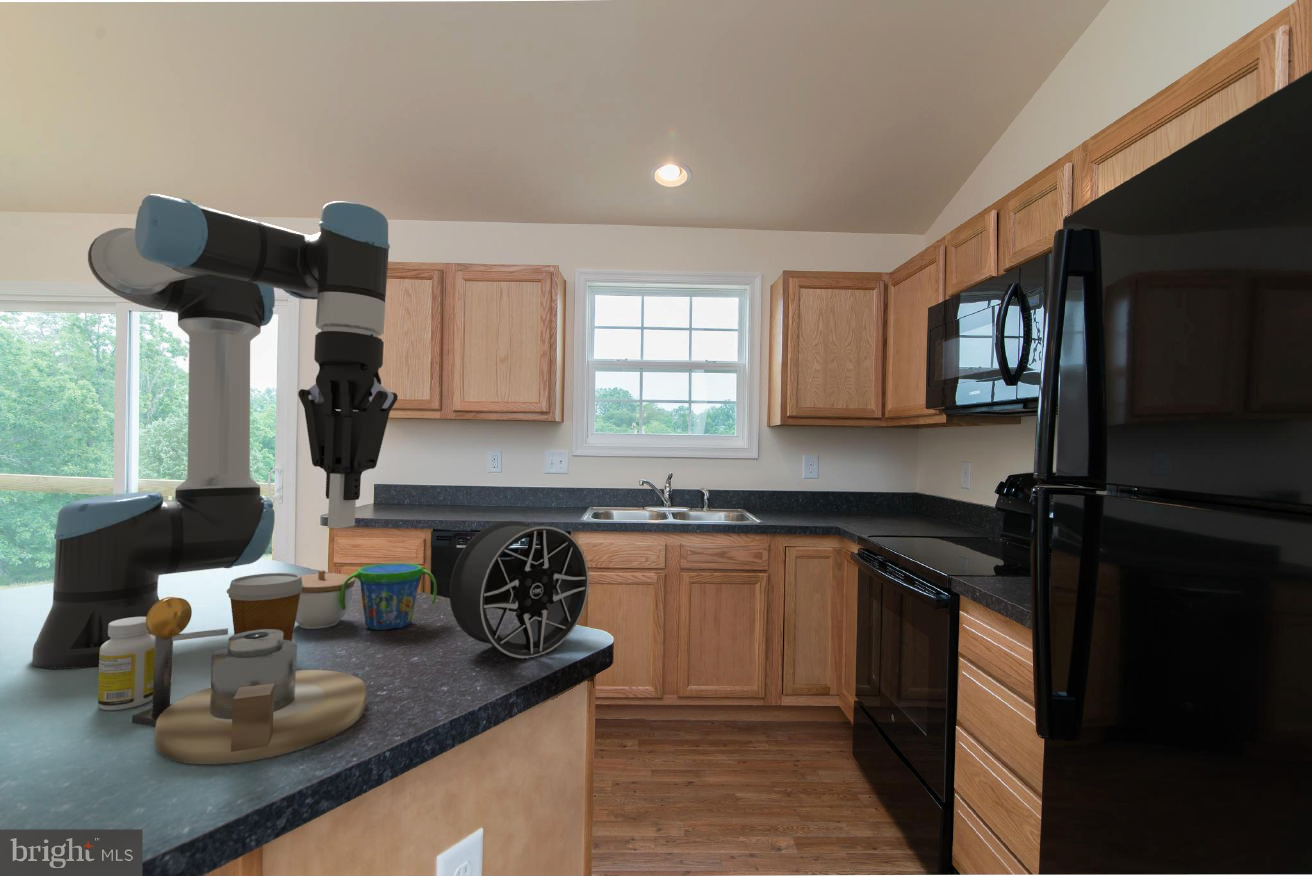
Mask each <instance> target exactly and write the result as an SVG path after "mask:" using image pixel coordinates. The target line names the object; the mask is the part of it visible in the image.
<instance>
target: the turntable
mask: <svg viewBox="0 0 1312 876" xmlns="http://www.w3.org/2000/svg"><path fill="white" fill-rule="evenodd" d="M274 685H275V684H266V685H257V686H249V687H240V688H239V689H238V691H237V693H236V695H235V696H234V698H233V711H232V719H220V718H216V717H214V716H212V715H211V714H210V696H211V686H210V687H207V688H204V689H202V690H199V691H197V692H196V691H195V692H194V693H191V694H190V695H188V696H187V695H186V696H185V697H183V698H181V699H179V700H177V701H176V702H174V703H171V704H172V705H171V706H170V707H168V708H167V709H166V710H164V711H163V712H162V713H161V714H160V716H159V717H158V719H157V721H156V727H155V736H154V746H155V749H156V751H157V752H158V753H159V754H160V755H161V756H163V757H164V758H167V759H169V760H171V761H176V762H180V763H187V764H194V765H197V764H198V765H221V764H222V765H224V764H225V765H226V764H234V763H235V764H236V763H243V762H244V763H245V762H250V761H251V762H252V761H258V760H262V759H263V760H264V759H267V758H273V757H276V756H281V755H284V754H285V755H286V754H289V753H293V752H295V751H299V750H301V749H302V750H303V749H305V748H308V747H310V746H311V747H312V746H313V745H315V744H318V743H321V742H323V741H326V740H328V739H331V738H332V737H335V736H336V735H338V734H340V733H341V732H344V731H345V730H347V729H349V728H350V727H351V726H353V725H354V724H355V723H357V722H358V720H359V719H360V718H361V717H362V716H363V714H364V712H365V710H366V704H367V703H366V702H367V685H366V684H365V682H364V681H363V680H362V679H360V678H359V677H358V676H355V675H352V674H349V673H345V672H339V671H335V670H321V669H320V670H318V669H306V670H305V669H301V670H296V681H295V699H294V701H293V702H292V703H291V704H289V705H288V706H286V707H284V708H282V709H280V710H278V711H275V712H273V710H274Z"/></svg>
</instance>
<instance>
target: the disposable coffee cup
mask: <svg viewBox="0 0 1312 876" xmlns="http://www.w3.org/2000/svg"><path fill="white" fill-rule="evenodd" d="M301 576H302V575H301V574H297V573H292V572H291V573H290V572H269V573H258V574H251V575H244V576H239V577H236V578H233V579H232V580H231V582H230V584H229V587H228V589H226V593H227V594H228V598H229V599H230V606H231V607H230V608H231V616H232V625H233V627H232V628H233V635H236V634H239V633H242V632H247V631H253V630H262V629H275V630H280V631H283V640H289V641H293V636H294V631H295V626H296V622H295V620H296V615H297V609H298V604H299V598H300V593H301V591H302V588H303V587H304V583H302V579H301Z"/></svg>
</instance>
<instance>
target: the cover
mask: <svg viewBox="0 0 1312 876" xmlns="http://www.w3.org/2000/svg"><path fill="white" fill-rule="evenodd" d="M227 642H228V643H227V644H228V645H227V646H225V647H223V648H220V649H218V650H216V651H215V652H214V653H213V654H212V656H211V673H210V674H211V677H210V687H211V696H210V714H211V715H212V716H214V717H216V718H220V719H232V711H233V698H234V696H235V695H236V693H237V691H238V689H239V688H240V687H249V686H257V685H266V684H275V685H274V710H273V712H275V711H278V710H280V709H282V708H284V707H286V706H288V705H289V704H291V703H292V702H293V701H294V699H295V681H296V671H297V656H298V655H297V654H298V653H297V651H298V644H297V643H296V642H294V641H293V640H292V641H289V640H283V631H280V630H275V629H262V630H253V631H247V632H242V633H239V634H236V635H234V634H233V635H231V636H230V637H228V640H227Z"/></svg>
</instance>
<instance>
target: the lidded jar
mask: <svg viewBox="0 0 1312 876" xmlns="http://www.w3.org/2000/svg"><path fill="white" fill-rule="evenodd" d="M300 576H301V579H302V583H304V587H303V588H302V591H301V593H300V598H299V604H298V609H297V615H296V620H295V624H298V627H299V628H302V629H306V630H307V629H308V630H316V629H327V628H330V627H334V626H336V625H337V624H339V621H340V620H341V619H342V618H344V616H345V615H346V614H347V613H348V612H349V610H350V608H351V605H352V602H353V598H354V588H355V584H356V579H355V578H356V577H353V578H352V579H351V580H350V581H349V582H348V583H347V584H346V586H345V606H346V609H345V610H343V609H342V607H341V601H340V595H341V589H342V586H343V584H344V582H345V580H346V579H347V578H348V577H349V576H350V575H349V574H344V573H326V570H325V569H320V570H319V569H318V573H314V574H313V573H311V574H305V575H304V574H303V575H300Z"/></svg>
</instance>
